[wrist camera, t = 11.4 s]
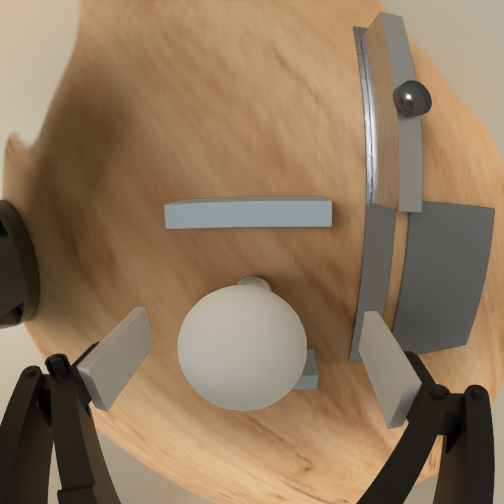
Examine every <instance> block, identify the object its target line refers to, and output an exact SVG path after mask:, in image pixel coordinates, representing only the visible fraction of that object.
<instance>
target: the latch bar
mask: <svg viewBox="0 0 504 504" xmlns="http://www.w3.org/2000/svg"><path fill="white" fill-rule="evenodd" d="M361 42H362V48H363V54H364V61H365V68H366V75H367V84H368V93H369V104H370V117H371V133H372V166H373V186H372V203H375V204H378V205H381V206H384V207H387V208H390V209H393V210H396V211H402V212H422V190H423V154H422V132H421V119H420V115H422V114H425V113H427V112H428V111H429V110H430V108H431V105H432V100H431V96H430V94H429V92H428V90H427V89H426V87H425V86H424V85H422V84H421V83H419V82H417V81H416V78H415V72H414V66H413V61H412V56H411V51H410V47H409V42H408V38H407V34H406V30H405V26H404V22H403V19H402V17H400V16H396V15H392V14H388V13H384V12H379V13H378V15H377V16H376V18H375V19H374V21H373V22H372V24H371V25H370V26H369V28H368V29H367V31H366V32H365V34H364V35H363V37H362V38H361Z"/></svg>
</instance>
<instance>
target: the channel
mask: <svg viewBox="0 0 504 504" xmlns="http://www.w3.org/2000/svg"><path fill="white" fill-rule="evenodd" d="M164 211H165V224H166V229H179V228H218V227H332V201H330V200H328V199H326V198H324V197H313V196H270V197H226V198H202V199H183V200H179V201H175V202H172V203H169V204H165V205H164ZM318 376H319V374H318V369H317V363H316V358H315V353H314V349H307V359H306V362H305V366H304V369H303V372H302V374H301V377H300V378H299V380H298V382H297V383H296V385H295V386H294V387H293V388H292V389H291V390H301V389H317V383H318ZM189 385H190V384H189Z"/></svg>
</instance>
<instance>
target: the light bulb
mask: <svg viewBox="0 0 504 504" xmlns="http://www.w3.org/2000/svg"><path fill="white" fill-rule="evenodd" d="M306 359H307V339H306V335H305V330H304V328H303V325H302V323H301V321H300V319H299V317H298V315H297V314H296V312H295V311H294V310H293V309H292V307H291V306H290V305H289V304H288V303H287V302H285V301H284V300H283V299H282V298H280V297H279V296H278V295H276V294H274V293H272V288H271V287H270V285H269V284H268V283H267V282H266V281H265V280H263V279H262V278H259V277H255V276H250V277H244V278H243V279H241V280H239V281H238V282H237V283H236V284H235V285H233V286H229V287H224V288H221V289H219V290H216V291H214V292H212V293H210V294H208V295H206V296H205V297H203V298H202V299H201V300H199V301H198V302H197V303H196V305H195V306H194V307H193V308H192V309H191V310H190V311H189V312H188V314H187V315H186V317H185V319H184V321H183V323H182V326H181V328H180V332H179V336H178V360H179V363H180V367H181V370H182V373H183V375H184V377H185V379H186V380H187V382H188V383H189V384H190V386H191V387H192V388H193V389H194V390H195V392H196V393H197V394H199V395H200V396H201V397H202V398H203V399H205V400H206V401H208V402H209V403H211V404H213V405H216V406H218V407H221V408H224V409H228V410H234V411H253V410H258V409H262V408H265V407H267V406H269V405H271V404H273V403H275V402H277V401H279V400H280V399H282V398H283V397H284V396H286V395H287V394H288V393H289V391H290V390H291V389H292V388H293V387H294V386H295V385H296V383H297V382H298V380H299V378H300V377H301V374H302V372H303V369H304V366H305V362H306Z"/></svg>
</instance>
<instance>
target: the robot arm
mask: <svg viewBox="0 0 504 504" xmlns="http://www.w3.org/2000/svg"><path fill="white" fill-rule="evenodd" d="M38 301H39V276H38V269H37V264H36V259H35V255H34V251H33V248H32V245H31V242H30V239H29V236H28V234H27V231H26V229H25V227H24V225H23V223H22V221H21V219H20V217H19V216H18V214H17V213H16V211H15V210H14V209H13V208H12V207H11V206H10V205H9V204H8V203H7V202H5V201H3V200H0V329H3V328H7V327H13V326H17V325H19V324H21V323H23V322H24V321H25V320H27V319H28V318H30V317H31V316H32V315H33V314H34V312H35V311H36V308H37V305H38ZM153 345H154V342H153V338H152V333H151V328H150V324H149V319H148V313H147V308H145V307H135V308H134V309H133V310H132V311H131V312H130V313H129V314H128V315H127V316H126V317H125V318H124V319H123V320H122V321H121V322H120V323H119V324H118V325H117V326H116V327H115V328H114V329H113V330H112V331H111V332H110V333H109V334H108V335H107V336H106V337H105V338H104V339H103V340H102V341H101V342H97V343H95V344H93V345H91V346H90V347H89V348H88V349H87V350H86V352H84V353H83V354H82V356H80V357H79V358H78V359H77V360H76V361H75V362H74V363H73V364H72V365H71V366H70V363H69V361H68V358H67V356H66V355H64V354H54V355H51V356H50V357H48V358H47V359H46V361H45V365H46V367H47V369H48V371H49V374H43V373H42V371H41V369H40V367H38V366H29V367H27V368H26V369H24V370H23V372H22V373H21V375H20V378H19V380H18V382H17V384H16V387H15V389H14V391H13V394H12V396H11V399H10V401H9V403H8V406H7V409H6V411H5V414H4V417H3V420H2V422H1V425H0V504H48V485H49V473H50V463H51V454H52V448H53V441H54V444H55V451H56V459H57V465H58V470H59V476H60V481H61V485H62V489H61V490H58V492H57V496H58V502H59V504H121V503H120V500H119V498H118V496H117V493H116V491H115V488H114V485H113V483H112V480H111V478H110V475H109V472H108V469H107V466H106V463H105V460H104V457H103V454H102V451H101V447H100V444H99V440H98V437H97V433H96V429H95V425H94V421H93V417H92V413H91V409H90V407H89V405H88V404H89V403H90V401H91V400H92V401H93V404H94V406H95V408H97V409H101V410H104V411H107V412H108V410H109V409H110V407H111V406H112V404H113V403H114V401H115V400H116V398H117V397H118V395H119V394H120V393H121V391H122V390H123V388H124V387H125V385H126V384H127V382H128V381H129V379H130V378H131V377H132V375H133V374H134V372H135V371H136V369H137V368H138V366H139V365H140V364H141V362H142V361H143V359H144V358H145V357H146V355H147V354H148V352H149V351H150V349H151V348H152V347H153ZM358 351H359V353H360V356H361V358H362V361H363V363H364V366H365V368H366V371H367V374H368V376H369V379H370V382H371V384H372V387H373V390H374V392H375V395H376V398H377V400H378V403H379V406H380V409H381V412H382V414H383V417H384V420H385V423H386V426H387V429H390V428H395V427H400V426H403V424H404V422H405V420H406V418H407V420H408V423H409V424H408V426H407V428H406V430H405V432H404V433H403V435H402V437H401V439H400V441H399V442H398V444H397V446H396V447H395V449H394V451H393V452H392V454H391V456H390V457H389V459H388V460H387V462H386V463H385V465H384V466H383V468H382V469H381V471H380V472H379V474H378V475H377V477H376V478H375V480H374V481H373V482H372V484H371V485H370V487H369V488H368V489H367V491H366V492H365V493H364V495H363V496H362V497H361V498H360V500H359V501H358V502H357V503H356V504H403V503H404V501H405V499H406V498H407V496H408V494H409V493H410V491H411V489H412V487H413V485H414V484H415V482H416V480H417V478H418V476H419V474H420V472H421V470H422V468H423V466H424V464H425V462H426V460H427V458H428V456H429V453H430V451H431V449H432V447H433V444H434V442H435V440H436V437H437V435H443V444H442V453H441V461H440V468H439V475H438V481H437V486H436V491H435V496H434V500H433V504H493V494H494V471H495V461H494V437H493V425H492V415H491V408H490V401H489V394H488V392H487V390H486V389H485V388H484V387H482V386H480V385H471V386H468V387H467V389H466V390H465V392H464V393H450V391H449V390H448V389H447V388H446V387H445V386H443V385H439V384H436V383H435V382H434V380H433V378H432V377H431V375H430V374H429V372H428V371H427V369H426V368H425V366H424V364H423V363H422V361H421V360H420V358H419V357H418V355H416V354H415V353H413V352H412V351H404V352H403V351H402V349H401V347H400V346H399V344H398V343H397V341H396V339H395V338H394V336H393V335H392V333H391V332H390V330H389V328H388V327H387V325H386V324H385V322H384V321H383V319H382V318H381V316H380V315H379V313H378V312H377V311H365V315H364V321H363V327H362V333H361V338H360V344H359V349H358Z"/></svg>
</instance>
